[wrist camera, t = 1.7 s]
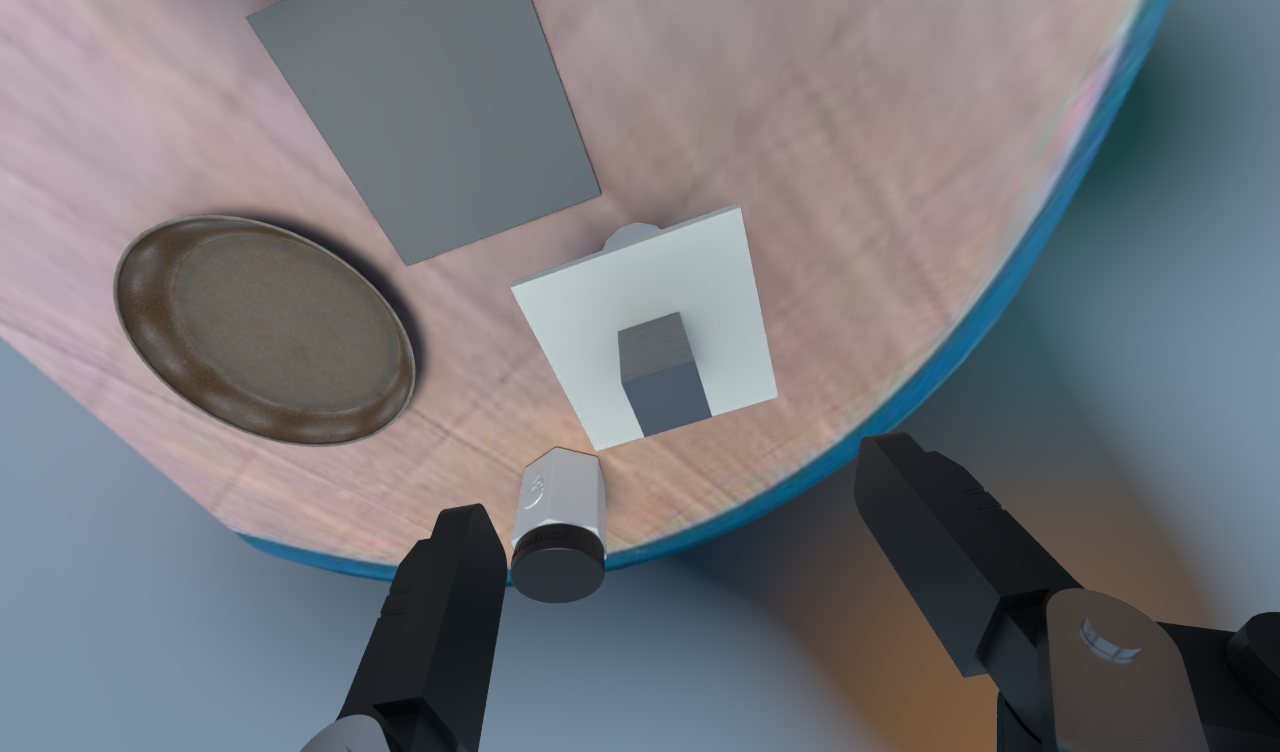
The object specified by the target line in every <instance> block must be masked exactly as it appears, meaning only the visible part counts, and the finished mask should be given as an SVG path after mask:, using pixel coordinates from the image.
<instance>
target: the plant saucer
mask: <svg viewBox="0 0 1280 752" xmlns="http://www.w3.org/2000/svg"><path fill="white" fill-rule="evenodd" d="M113 297H114V304H115V309H116V312H117V315H118V319H119V321H120V324H121V326H122V329H123V331H124V333H125V335H126V337H127V339H128V341H129V342H130V344H131V345H132V347H133V348H134V350H135V351H136V353H137V354H138V356H139V357H140V358H141V360H142V361H143V362H144V363H145V364H146V365H147V367H148V368H149V369H150V370H151V371H152V372H153V373H154V374H155V375H156V376H157V377H158V378H159V379H160V380H161V381H162V382H163V383H164V384H165V385H166V386H167V387H168V388H170V389H171V390H172V391H173V392H174V393H176V394H177V395H178V396H180V397H181V398H182V399H184V400H185V401H186V402H188V403H189V404H190V405H192V406H193V407H195V408H197V409H198V410H200V411H201V412H203V413H205V414H207V415H208V416H210V417H212V418H214V419H215V420H217V421H220V422H222V423H224V424H226V425H228V426H230V427H233V428H235V429H237V430H239V431H242V432H245V433H247V434H250V435H253V436H257V437H260V438H263V439H267V440H271V441H275V442H279V443H284V444H290V445H299V446H308V447H328V446H338V445H345V444H350V443H355V442H358V441H361V440H364V439H367V438H370V437H372V436H374V435H376V434H378V433H380V432H381V431H383V430H385V429H386V428H387V427H389V426H390V425H391V424H393V423H394V422H395V421H396V420H397V419H398V418H399V417H400V415H401V414H402V413H403V411H404V410H405V409H406V407H407V405H408V403H409V401H410V399H411V396H412V393H413V390H414V384H415V360H414V354H413V350H412V347H411V344H410V341H409V338H408V335H407V333H406V331H405V328H404V326H403V324H402V322H401V321H400V319H399V317H398V315H397V313H396V312H395V310H394V309H393V308H392V306H391V305H390V303H389V302H388V301H387V299H386V298H385V297H384V296H383V294H382V293H381V292H380V291H379V290H378V289H377V288H376V287H375V286H374V285H373V284H372V283H371V282H370V281H369V280H368V279H367V278H366V277H365V276H364V275H363V274H362V273H360V272H359V271H358V270H357V269H356V268H355V267H353V266H352V265H351V264H349V263H348V262H347V261H345V260H344V259H342V258H341V257H340V256H338V255H337V254H335V253H334V252H332V251H330V250H329V249H327V248H325V247H323V246H321V245H320V244H318V243H316V242H314V241H312V240H310V239H308V238H305V237H303V236H301V235H299V234H296V233H294V232H291V231H289V230H286V229H283V228H280V227H277V226H274V225H271V224H267V223H264V222H260V221H256V220H252V219H247V218H240V217H234V216H223V215H197V216H188V217H182V218H177V219H173V220H169V221H166V222H163V223H160V224H157V225H156V226H154V227H152V228H150V229H148V230H146V231H144V232H143V233H141V234H140V235H139V236H138V237H136V238H135V239H134V240H133V241H132V242H131V243H130V244H129V245H128V247H127V248H126V249H125V251H124V252H123V254H122V256H121V258H120V260H119V262H118V265H117V268H116V272H115V274H114V282H113Z"/></svg>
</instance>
